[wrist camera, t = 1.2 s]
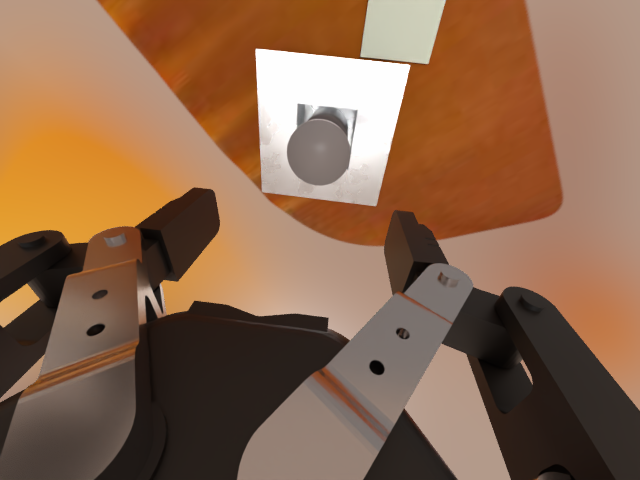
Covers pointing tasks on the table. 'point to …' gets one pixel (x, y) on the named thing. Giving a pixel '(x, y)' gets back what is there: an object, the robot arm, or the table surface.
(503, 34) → the table surface
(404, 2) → the mat
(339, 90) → the housing
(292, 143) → the gray cylinder
